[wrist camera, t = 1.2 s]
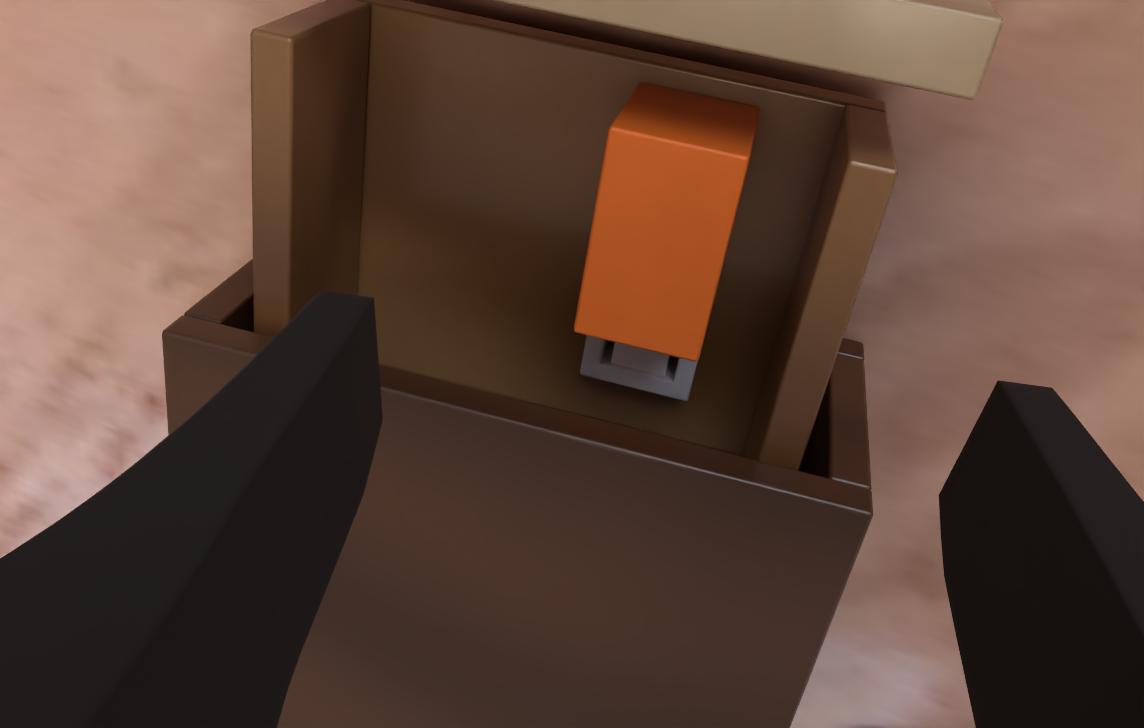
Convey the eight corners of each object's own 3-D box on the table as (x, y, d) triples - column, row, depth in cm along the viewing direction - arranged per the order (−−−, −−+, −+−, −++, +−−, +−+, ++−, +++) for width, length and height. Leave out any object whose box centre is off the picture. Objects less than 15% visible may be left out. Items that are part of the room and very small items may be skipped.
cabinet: (311, 210, 25) (160, 330, 19) (864, 342, 23) (874, 514, 18) (303, 587, 31) (187, 760, 26) (736, 710, 30) (714, 922, 24)
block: (639, 80, 20) (608, 126, 17) (761, 107, 19) (750, 157, 17) (588, 353, 23) (555, 429, 20) (692, 379, 22) (673, 459, 20)
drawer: (334, -412, 18) (187, -476, 14) (1055, -295, 16) (1130, -327, 12) (315, 348, 26) (218, 452, 22) (799, 471, 24) (792, 607, 20)
